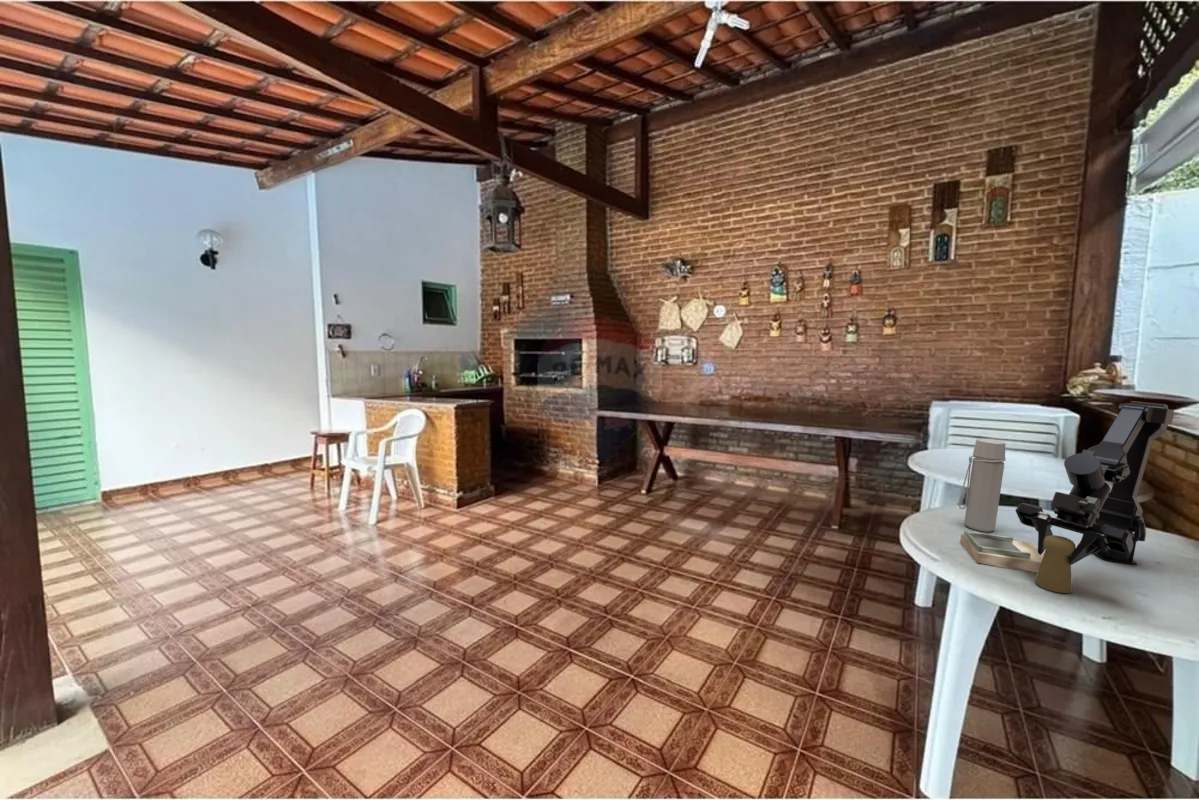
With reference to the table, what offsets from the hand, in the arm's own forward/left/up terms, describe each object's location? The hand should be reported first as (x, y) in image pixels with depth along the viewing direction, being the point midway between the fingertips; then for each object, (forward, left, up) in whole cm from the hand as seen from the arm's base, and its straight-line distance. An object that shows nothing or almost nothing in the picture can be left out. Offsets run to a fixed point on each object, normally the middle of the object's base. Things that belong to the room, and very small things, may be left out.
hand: (1054, 558), depth 110 cm
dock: (+3, -15, -7) cm, 17 cm away
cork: (-1, -1, -7) cm, 7 cm away
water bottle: (+3, -36, -7) cm, 37 cm away
